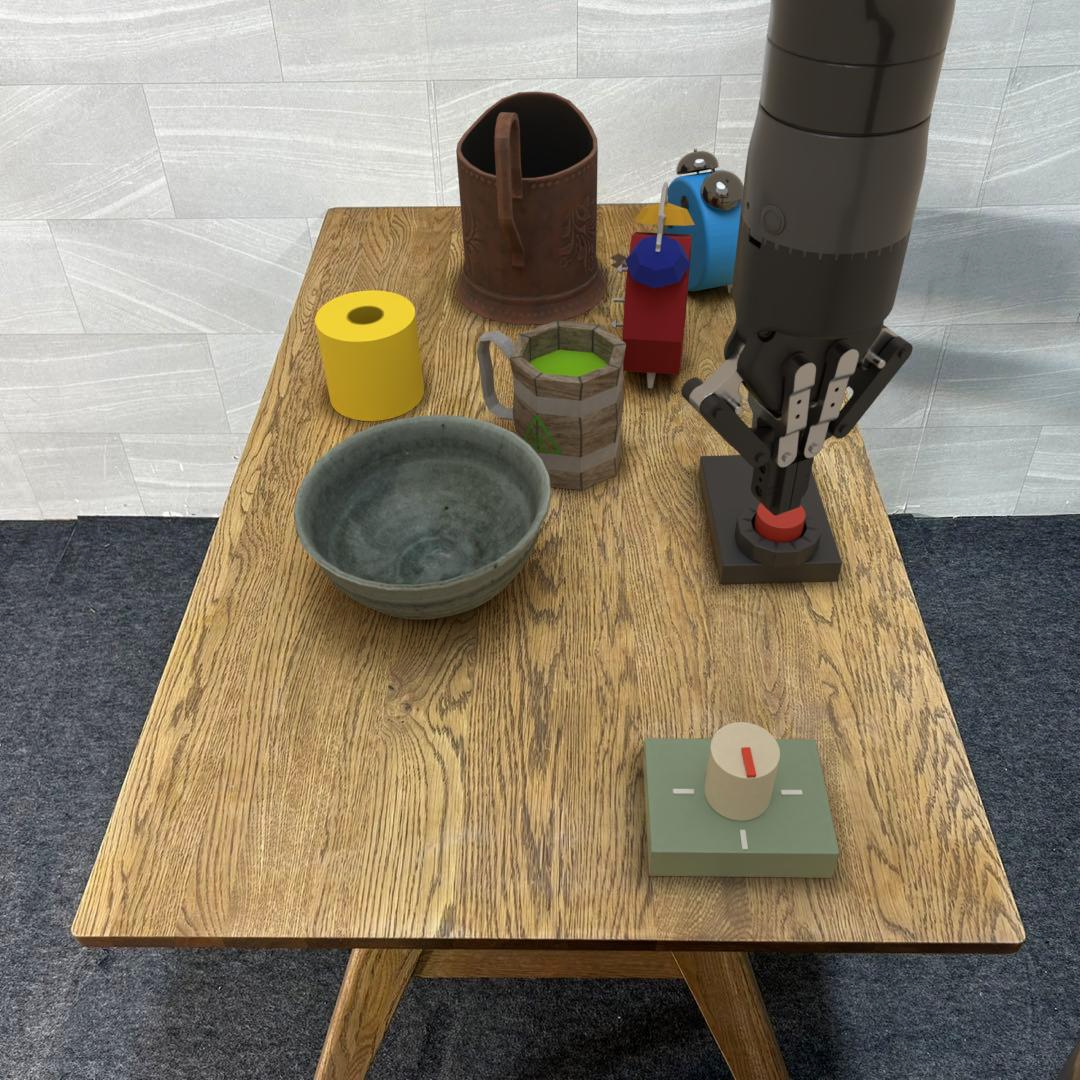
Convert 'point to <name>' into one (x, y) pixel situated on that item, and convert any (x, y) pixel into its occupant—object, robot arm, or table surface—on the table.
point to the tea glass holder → (529, 211)
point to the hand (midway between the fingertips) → (776, 503)
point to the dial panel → (729, 845)
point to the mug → (563, 397)
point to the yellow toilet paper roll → (370, 354)
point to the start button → (779, 524)
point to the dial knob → (741, 771)
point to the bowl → (424, 514)
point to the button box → (744, 548)
